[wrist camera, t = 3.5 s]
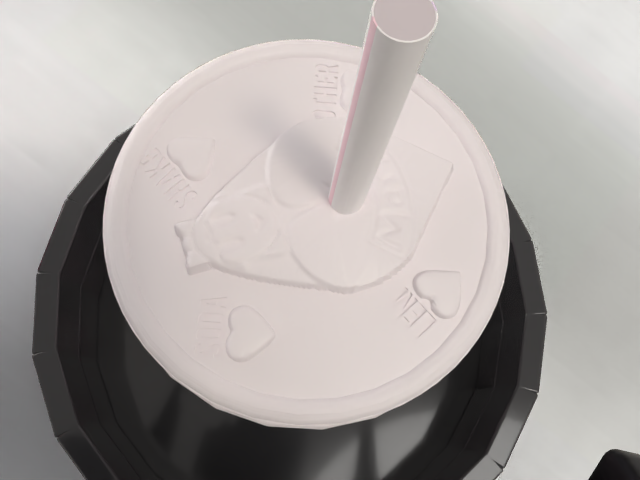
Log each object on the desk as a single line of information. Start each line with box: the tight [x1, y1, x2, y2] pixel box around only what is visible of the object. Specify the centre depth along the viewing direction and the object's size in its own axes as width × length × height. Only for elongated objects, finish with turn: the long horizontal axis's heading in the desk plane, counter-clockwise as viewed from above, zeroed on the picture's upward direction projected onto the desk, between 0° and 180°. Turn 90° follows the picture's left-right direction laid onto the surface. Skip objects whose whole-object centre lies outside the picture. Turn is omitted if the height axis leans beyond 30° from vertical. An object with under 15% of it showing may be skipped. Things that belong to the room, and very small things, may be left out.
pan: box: [32, 124, 547, 480], centre depth 17 cm, size 13×13×4 cm
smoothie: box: [103, 0, 510, 430], centre depth 11 cm, size 6×6×14 cm
